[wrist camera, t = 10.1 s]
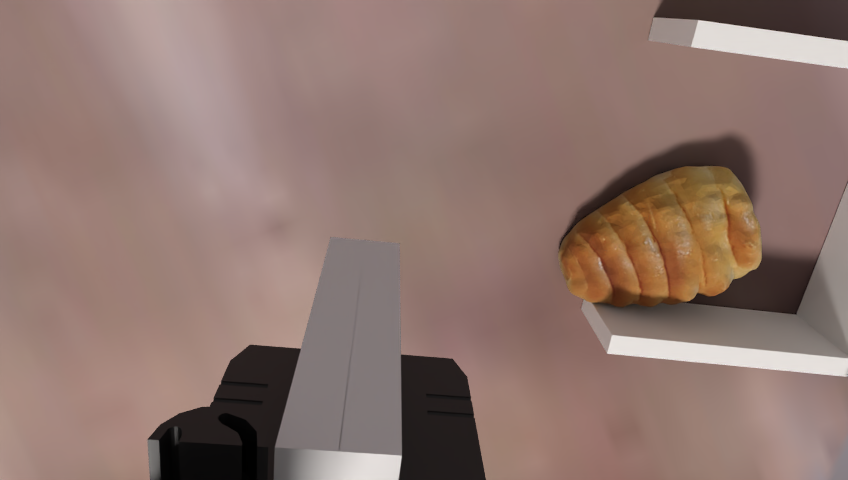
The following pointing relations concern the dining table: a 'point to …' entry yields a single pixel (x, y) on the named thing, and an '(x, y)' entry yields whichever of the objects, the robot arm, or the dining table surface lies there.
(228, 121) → the dining table surface
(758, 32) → the box
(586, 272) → the pastry
